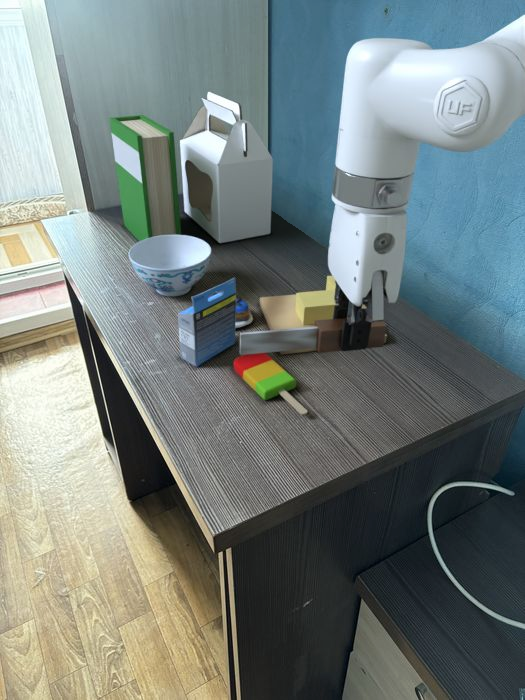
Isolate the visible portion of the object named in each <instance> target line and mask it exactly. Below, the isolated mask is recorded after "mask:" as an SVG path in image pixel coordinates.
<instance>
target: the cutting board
mask: <svg viewBox="0 0 525 700" xmlns="http://www.w3.org/2000/svg"><path fill="white" fill-rule="evenodd" d="M296 294H297V293H295V294H294V293H293V294H285V295H274V296H273V295H272V296H262V297H261V296H260V297H259V306H260V309H261V310H262V314H263V316H264V318H265V320H266V323H267V325H268V328H269V330H281V329H293V328H304V327H315V324H310V325H303V324H302V322H301V320H300V318H299V316H298V314H297V312H296V310H295V308H296ZM363 308H367V305H366V304H363V305H362V308H361V309H363ZM387 338H388V335H387V333H386V334H385V338H384V343H383V344H386V343H387V340H388V339H387ZM307 352H318V351H317V349H316V348H311V349H300V350H289V351H278V353H279V354H280V355H281V356H282V355H289V354H298V353H307Z"/></svg>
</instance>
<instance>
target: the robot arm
mask: <svg viewBox="0 0 525 700" xmlns="http://www.w3.org/2000/svg"><path fill="white" fill-rule="evenodd" d="M344 67H345V68H344V76H343V87H342V95H341V96H342V97H341V106H340V114H339V124H338V135H337V142H336V143H337V144H336V151H335V152H336V154H335V164H334V172H333V180H332V181H333V183H332V191H331V201H332V202H333V203H334V204H335V205H334V210H333V214H332V216H333V217H332V221H331V227H330V233H329V242H328V251H327V252H328V253H327V266H328V267H327V268H328V270H329V272H330V274H331V276H333V277H334V279H335V283H336V288H335V295H334V301H335V304H339V305H334V313H333V319H340V318H347V320H343V327H342V335H341V342H340V348H341V350H342V351H341V352H351V351H360V350H367V349H368V348H367V346H368V341H369V335H370V330H371V324H372V323H373V322H380V321H384V318H385V314H384V312H385V310H384V307H385V306H384V300H385V301H386V302H387V303H388V304H395V303H396V302H397V300H398V298H399V294H400V289H401V283H402V277H403V276H402V275H403V269H404V263H405V262H404V261H405V253H406V245H407V244H406V243H407V230H408V229H407V227H408V226H407V225H408V224H407V223H408V221H407V218H408V217H407V216H408V215H407V211H406V209H407V208H408V207H409V203H410V198H411V197H410V196H411V191H412V186H413V181H414V176H415V171H416V166H417V160H418V156H419V150H420V145H421V143H424V144H426V145H429V146H432V147H435V148H438V149H441V150H446V151H449V152H457V153H471V152H475V151H479V150H482V149H484V148H487V147H489V146H490V145H492V144H493V143H495V142H496V141H497V140H499V139H500V138H501V137H502V136H503V135H504V134H505V133H506V132H507V130H508V129H509V128H510V127H511V126H512V125H513V124H514V122H515V121H516V120H517V119H519V118H520V117H523V116H524V115H525V14H523V15H521V16H520V17H518V18H517V19H515V20H513V21H512V22H510V23H508V24H507V25H505V27H502V28H501V29H500V30H498V31H496V32H494V33H493V34H491V35H489V36H488V37H487V38H485V39H483V40H482V41H478V42H475V43H473V44H469V45H467V46H466V45H465V46H462V47H456V48H443V49H442V48H441V49H438V48H437V49H433V48H432V47H431V46H430V45H429V44H427V43H425V42H422V41H419V40H415V39H406V38H391V37H390V38H389V37H373V38H365V39H361V40H358V41H356V42H355V43H354V44H353V45H352V46H351V47H350V49H349V51H348V53H347V55H346V61H345V66H344ZM363 304H364V305H366V308H363V309H361V308H362V305H363Z"/></svg>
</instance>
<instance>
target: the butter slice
mask: <svg viewBox="0 0 525 700" xmlns="http://www.w3.org/2000/svg"><path fill="white" fill-rule="evenodd" d="M335 288H336V283H335V279H334V277H333V276H332V275H327V277H326V287H325V290H334V289H335Z"/></svg>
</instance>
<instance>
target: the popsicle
mask: <svg viewBox="0 0 525 700" xmlns="http://www.w3.org/2000/svg"><path fill="white" fill-rule="evenodd" d="M233 370H234V371H235V373H236V374H237V375H238V376H239V377H240V378H241V379H242V380H243V381H244V382H245V383H246V384H247V385H248V386H249V387H250V388H251V389H253V391H254V392H256V393H257V395H258V396H260V397H261V399H263V400H264V401H267V400H270V399H272V398H275V397H277V396H279V395H280V396H281V397H282V398H283V399H284V400H285V401H286V402H287V403H289V405H290V406H292V407H293V409H295V410H296V411H297V412H298V413H299V414H300V415H301V416H305V415H307V414H308V410H307V408H305V407H304V406H303V405H302V404H301V403H300V402H299V401H297V400H296V398H294V397H293V396H292V395H291V394H290V393H289V392H288V391H291V390H294V389H296V387H297V379H295V377H293V376H292V375H291V374H289V372H287V371H286V370H285V369H284V368H283V367H282V366H280V365H279V363H277V362H276V361H275V360H274V359H273V358H271V357H270V356H269V355H268V354H267V353H256V354H246V355H240V356H238V357H236V358H235V359H234V361H233Z"/></svg>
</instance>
